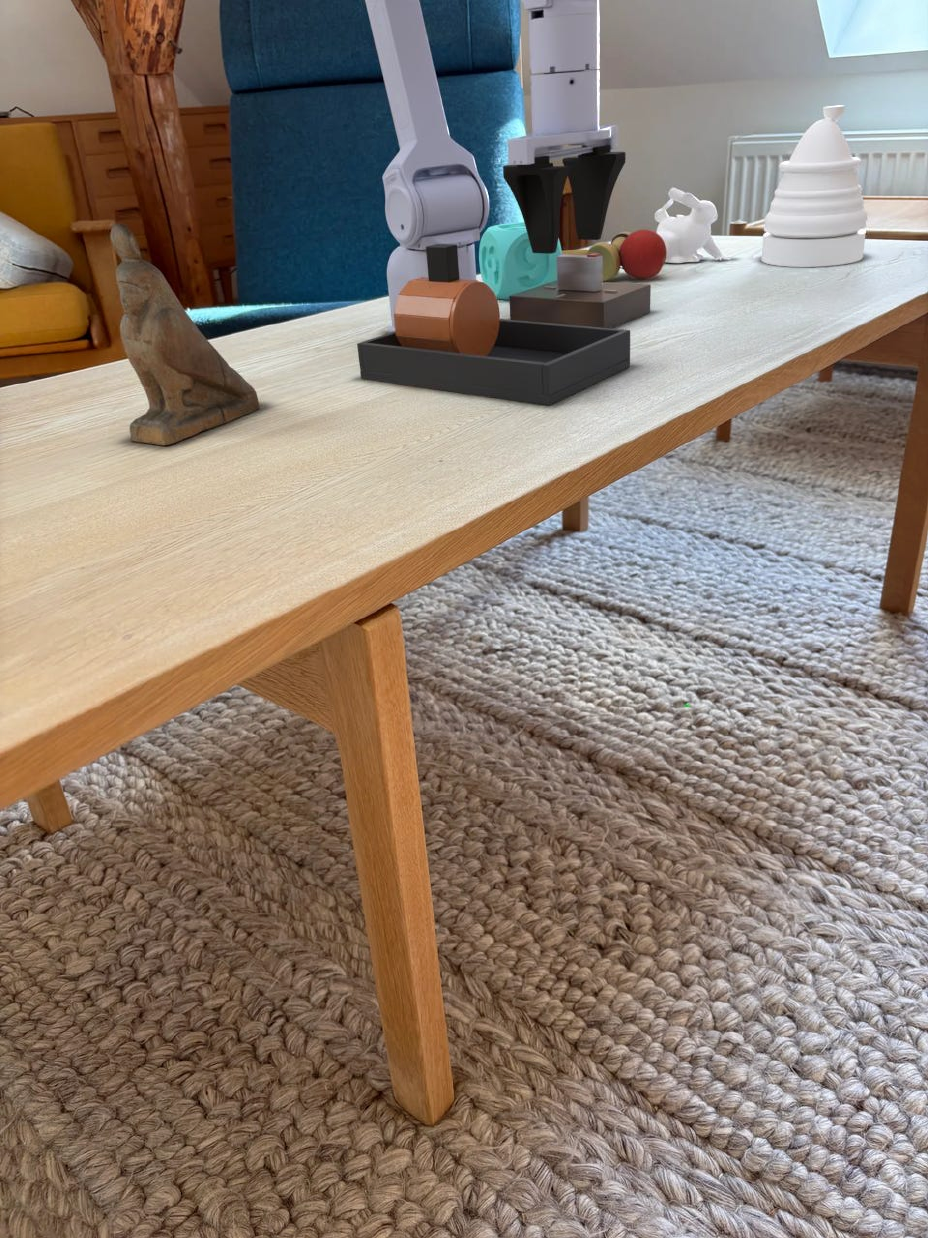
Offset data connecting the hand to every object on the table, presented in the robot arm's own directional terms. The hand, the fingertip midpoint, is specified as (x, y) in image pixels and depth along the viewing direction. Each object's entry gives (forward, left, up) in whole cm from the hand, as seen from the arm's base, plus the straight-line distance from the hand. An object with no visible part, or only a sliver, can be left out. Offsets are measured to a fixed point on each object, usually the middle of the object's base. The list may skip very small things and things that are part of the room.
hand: (567, 245), depth 88 cm
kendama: (-20, +39, -10) cm, 45 cm away
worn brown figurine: (-18, -30, -10) cm, 36 cm away
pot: (-5, -7, -4) cm, 10 cm away
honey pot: (+1, +58, -10) cm, 59 cm away
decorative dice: (-24, +26, -10) cm, 37 cm away
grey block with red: (-9, +16, -7) cm, 20 cm away
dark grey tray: (-4, -7, -10) cm, 13 cm away
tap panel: (-9, +16, -10) cm, 21 cm away
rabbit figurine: (-15, +52, -10) cm, 55 cm away
